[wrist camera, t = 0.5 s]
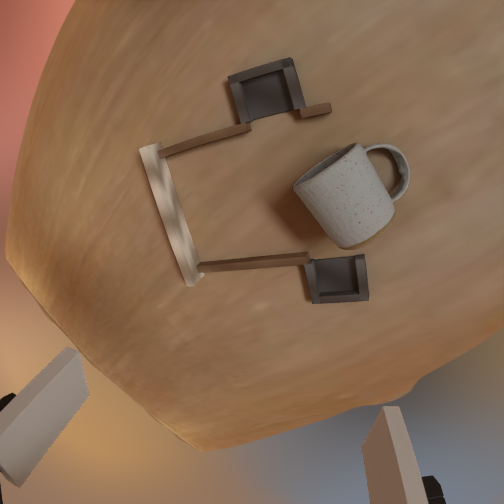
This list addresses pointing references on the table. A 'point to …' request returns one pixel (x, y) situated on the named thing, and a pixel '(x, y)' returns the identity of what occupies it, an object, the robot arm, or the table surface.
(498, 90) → the table surface
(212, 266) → the frame with square trays
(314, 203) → the ceramic mug
